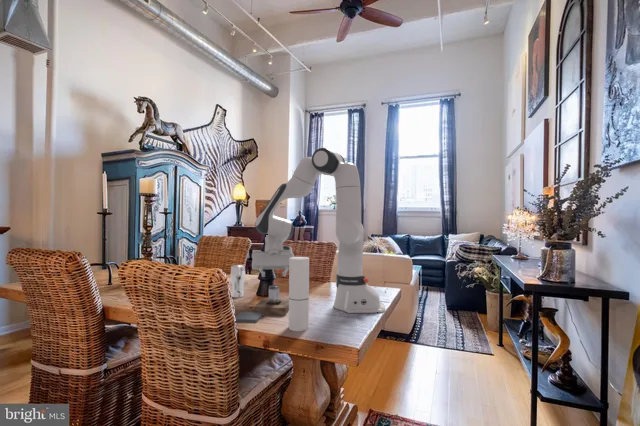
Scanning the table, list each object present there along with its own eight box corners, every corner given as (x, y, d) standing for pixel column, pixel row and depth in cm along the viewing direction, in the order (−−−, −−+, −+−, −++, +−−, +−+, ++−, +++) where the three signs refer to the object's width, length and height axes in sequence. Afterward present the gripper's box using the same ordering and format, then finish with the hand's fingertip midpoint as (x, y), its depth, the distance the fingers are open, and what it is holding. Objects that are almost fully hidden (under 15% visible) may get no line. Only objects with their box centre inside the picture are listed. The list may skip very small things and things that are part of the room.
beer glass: (227, 297, 151) (227, 266, 151) (236, 293, 158) (236, 264, 158) (239, 298, 149) (240, 267, 149) (247, 295, 155) (248, 265, 155)
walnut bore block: (291, 306, 138) (291, 299, 138) (285, 315, 125) (285, 308, 125) (263, 304, 139) (263, 298, 139) (254, 314, 126) (254, 306, 126)
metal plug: (280, 308, 134) (280, 285, 134) (277, 311, 130) (277, 287, 130) (270, 308, 134) (270, 285, 135) (267, 311, 130) (267, 287, 130)
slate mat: (263, 314, 125) (263, 312, 125) (256, 322, 116) (256, 319, 116) (241, 313, 126) (241, 311, 126) (233, 321, 117) (233, 318, 117)
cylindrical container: (309, 324, 115) (310, 256, 115) (307, 331, 108) (307, 259, 108) (290, 323, 116) (291, 256, 116) (286, 330, 108) (287, 259, 109)
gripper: (251, 247, 147) (250, 272, 137) (295, 247, 150) (296, 271, 140) (252, 255, 151) (250, 280, 142) (294, 255, 154) (295, 279, 145)
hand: (273, 275), depth 141 cm, fingers open, 8 cm apart
